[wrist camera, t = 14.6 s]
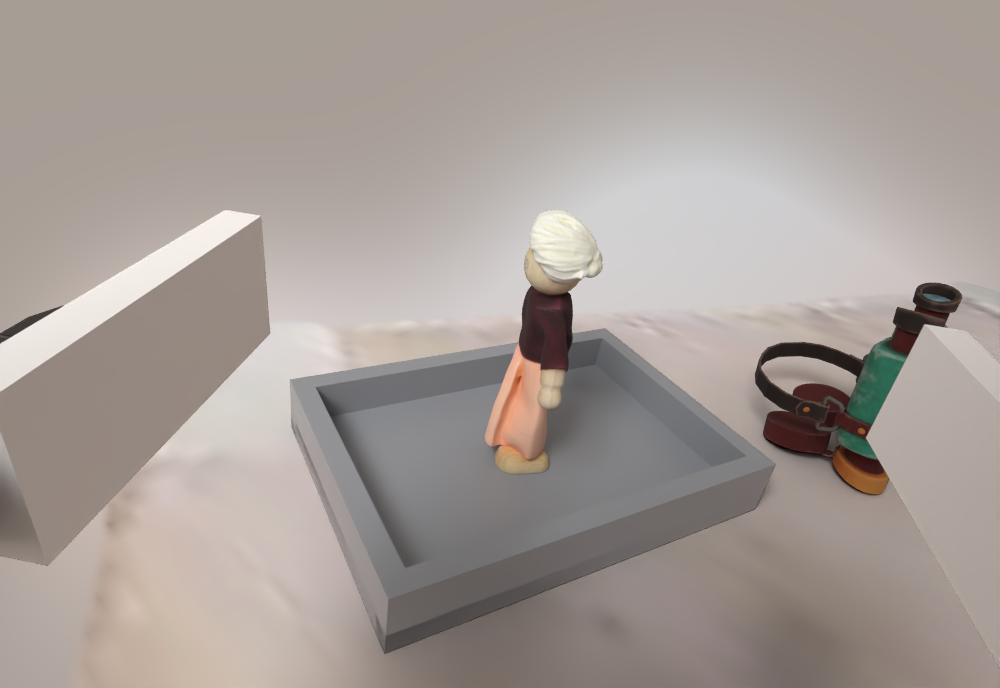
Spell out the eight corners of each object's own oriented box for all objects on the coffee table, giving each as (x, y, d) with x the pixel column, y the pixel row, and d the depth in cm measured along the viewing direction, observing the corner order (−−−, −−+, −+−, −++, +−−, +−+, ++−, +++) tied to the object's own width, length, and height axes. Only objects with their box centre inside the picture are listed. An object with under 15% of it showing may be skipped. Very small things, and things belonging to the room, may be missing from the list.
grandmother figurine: (470, 408, 35) (501, 183, 29) (536, 407, 36) (581, 189, 30) (497, 509, 29) (544, 248, 22) (577, 505, 30) (644, 253, 23)
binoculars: (811, 246, 40) (999, 291, 35) (770, 390, 45) (930, 451, 39) (755, 276, 34) (972, 337, 28) (714, 439, 39) (894, 520, 33)
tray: (595, 366, 43) (605, 328, 41) (755, 508, 33) (776, 464, 31) (291, 427, 33) (290, 379, 32) (384, 653, 23) (388, 599, 22)
